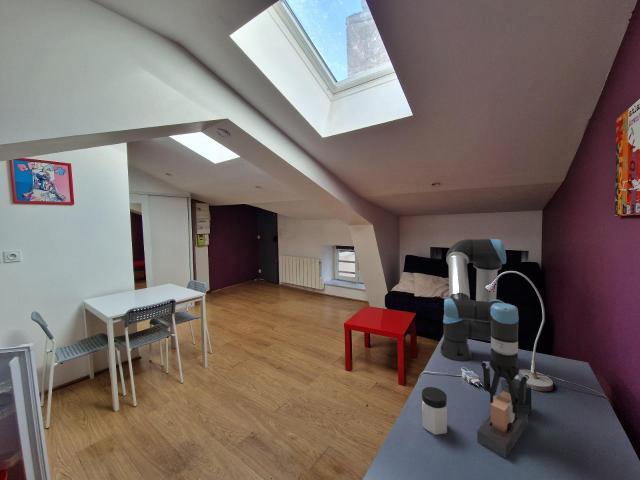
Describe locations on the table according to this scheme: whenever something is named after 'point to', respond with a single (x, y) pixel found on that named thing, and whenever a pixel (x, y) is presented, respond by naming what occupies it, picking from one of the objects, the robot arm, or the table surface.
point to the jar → (434, 410)
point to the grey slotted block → (502, 434)
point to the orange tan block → (501, 412)
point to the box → (527, 405)
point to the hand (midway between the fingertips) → (503, 416)
